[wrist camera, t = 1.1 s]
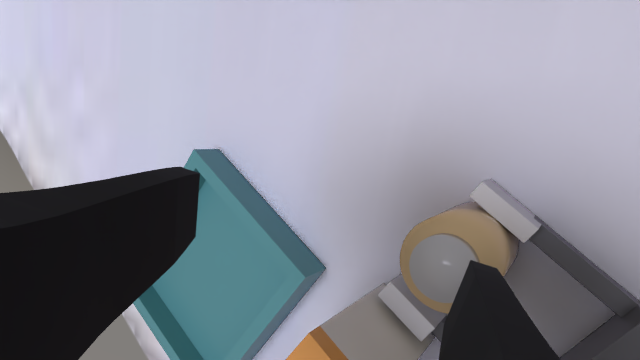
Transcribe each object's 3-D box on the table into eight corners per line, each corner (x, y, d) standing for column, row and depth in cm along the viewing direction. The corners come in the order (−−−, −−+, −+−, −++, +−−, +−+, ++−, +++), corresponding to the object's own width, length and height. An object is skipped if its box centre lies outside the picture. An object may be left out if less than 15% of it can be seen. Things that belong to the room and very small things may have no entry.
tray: (325, 268, 25) (305, 277, 23) (225, 391, 29) (201, 407, 28) (218, 149, 28) (193, 149, 27) (145, 276, 33) (120, 283, 31)
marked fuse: (435, 337, 21) (374, 412, 15) (391, 378, 23) (320, 462, 17) (383, 283, 23) (308, 332, 17) (345, 325, 24) (263, 385, 18)
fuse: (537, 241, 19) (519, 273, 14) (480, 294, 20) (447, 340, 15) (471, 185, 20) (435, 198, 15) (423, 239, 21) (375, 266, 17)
